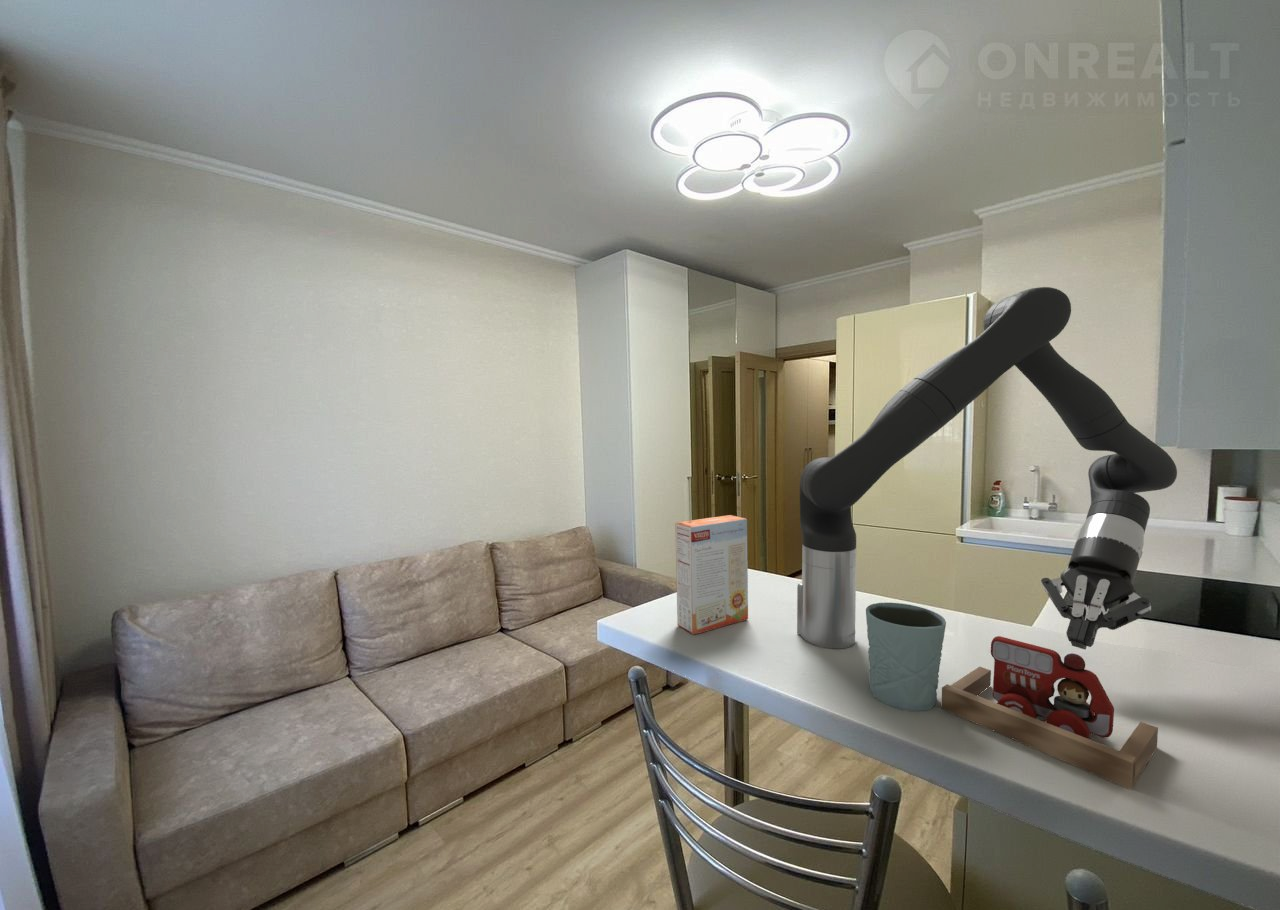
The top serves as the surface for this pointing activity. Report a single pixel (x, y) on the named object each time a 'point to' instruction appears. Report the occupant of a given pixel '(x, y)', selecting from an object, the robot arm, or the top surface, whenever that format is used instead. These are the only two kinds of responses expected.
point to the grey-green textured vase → (904, 654)
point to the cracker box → (711, 572)
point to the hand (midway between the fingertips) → (1077, 645)
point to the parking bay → (1051, 733)
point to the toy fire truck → (1050, 687)
